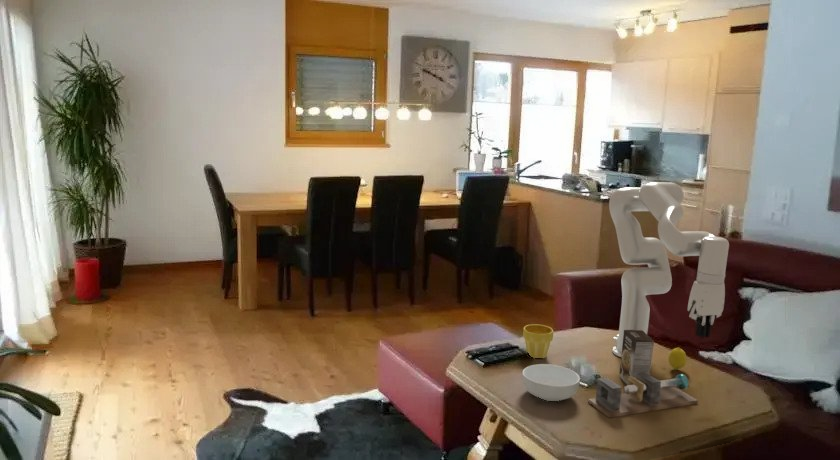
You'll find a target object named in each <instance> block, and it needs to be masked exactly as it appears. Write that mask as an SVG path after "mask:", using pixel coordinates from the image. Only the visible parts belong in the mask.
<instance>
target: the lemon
mask: <svg viewBox="0 0 840 460" xmlns="http://www.w3.org/2000/svg"><path fill="white" fill-rule="evenodd" d="M668 363H669V365H670V367H672V368H673V369H674V370H675V371H678V370H680V369H682V368H684V367H685V365H686V364H687V354H686V352H685V351H684V350H683V349H682V348H680V347H678V346H677V347H674V348H672V350H670V351H669V355H668Z"/></svg>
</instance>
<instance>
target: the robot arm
mask: <svg viewBox="0 0 840 460" xmlns="http://www.w3.org/2000/svg"><path fill="white" fill-rule="evenodd" d="M683 200H684V192H683V190H682V187H681V186H680V185H679V184H677V183H675V182H669V181H668V182H667V181H666V182H662V181H661V182H659V181H658V182H657V181H656V182H655V181H654V182H648V183H645V184H643V185H642V186H641V187H635V186H633V187H629V186H628V187H621V188H618V189H616V190H614V191H613V192H612V193H611V196H610V198H609V203H608V207H609V208H608V209H609V214H610V217H611V219H612V222H613V224H614V227H615V231H616V232H615V233H616V237H617V242H618V248H619V253H620V256H621V257H620V258H621V259H622V262H624V263H625V264H626V265H634V266H635V265H636V266H637V265H647V266H646V267H632V268H629V269H627V270H625V271H624V272H623V274H622V275H621V281H620V282H621V283H620V284H621V296H622V297H621V307H620V308H621V309H620V317H619V328H618V334H616V335H615V336H614V337H613V338H612V341H614V342H615V345H614V346H613V347H612V353H613V354H614V355H615V356H617V357H619V358H621V355H622V345H623V336H624V330H642V331H644V332H645V333H646V334H647V335H648V331H649V323H650V321H649V320H650V310H651V308H650V304H649V301H648V300H647V297H646V296H649V295H650V296H651V295H661V294H662V295H663V294H666V293H668V292H669V291H670V290H671V287H672V285H673V282H672V281H673V278H672V272H671V266H670V262H669V257H668V253H667V251H669V252H670V253H671V254H672V255H674V256H676V257H677V256H678V257H698V263H697V264H698V265H697V273H696V280H694V281H693V284H692V286H691V290H690V292H689V298H688V301H687V302H688V304H687V311H688V313H689V314H688V315H689V316H688V318H690V319H692V320H693V321H695V323H696V327H695V336H697V337H699V338H701V339H705V338H707V339H708V338H709V339H710V337H711V330H712V326H713V324H714V321H716V320H717V318H719V317H721V316H722V313H723V311H724V307H725V297H726V287H725V286H726V285H725V279H726V272H727V271H726V270H727V262H728V257H729V255H728V254H729V249H730V243H729V240H728V239H726V238H725V237H721V236H717V235H715V234H713V233H712V232H708V231H705V230H703V231H701V230H700V231H696V230H695V231H692V230H691V231H680V230H679V229H678V228H677V227H676V226H675V225H676V224H678V223H679V222H680V221H681V220H682V217H683V216H684V212H685V211H684V208H683V206H682V205H681V204H682V202H683ZM632 212H650V213H651V215H652V216H653V217H654V218H655V219H656V221H657V222H658V223H657V234H658V238H657V237H650V236H649V237H644V235H643V232H642V227H641V223H640V222H639V220H638V218H636V216H635V215H633V213H632Z"/></svg>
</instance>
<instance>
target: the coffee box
mask: <svg viewBox="0 0 840 460" xmlns="http://www.w3.org/2000/svg"><path fill="white" fill-rule="evenodd" d="M654 343H655V340H654V339H653V338H652V337H650V336H649V334H648V333H647V334H646V333H645V332H644V331H642V330H624V336H623V345H622V355H621V357H620V363H619V364H620V365H619V375H618V376H619V378H620V379H621V380H622V381H623V382H624V383H625V385H626V386H627V385H628V378H629V376H633V377H634V378H636V375H637V373H642V372H645V373H647V374H649V375H651V367H652V361H653V360H652V359H653V352H654V345H655V344H654ZM633 385H634V383H633Z"/></svg>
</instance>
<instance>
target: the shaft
mask: <svg viewBox="0 0 840 460" xmlns="http://www.w3.org/2000/svg"><path fill="white" fill-rule="evenodd" d="M660 381H661V386H660V389H664V388H671V387H676V388H678V389H679V390H686V389H688V388H689V384H690V383H689V379H688V377H687V376H686V374H684V373H680V374H676V375H675V377H674V378H670V379H664V380H663V379H662V380H660ZM647 387H648V384H646V383H644V389H643V392H645V391H647ZM623 390H624V392H625V393H624V394H631V393H637V391H638V386H637V385H636V384H634V385H627V384H626V385H625V386H624V389H623Z"/></svg>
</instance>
